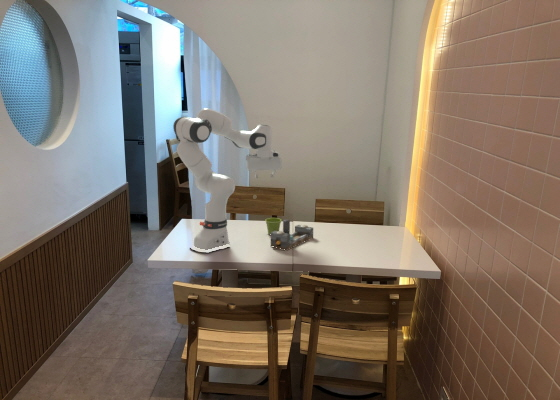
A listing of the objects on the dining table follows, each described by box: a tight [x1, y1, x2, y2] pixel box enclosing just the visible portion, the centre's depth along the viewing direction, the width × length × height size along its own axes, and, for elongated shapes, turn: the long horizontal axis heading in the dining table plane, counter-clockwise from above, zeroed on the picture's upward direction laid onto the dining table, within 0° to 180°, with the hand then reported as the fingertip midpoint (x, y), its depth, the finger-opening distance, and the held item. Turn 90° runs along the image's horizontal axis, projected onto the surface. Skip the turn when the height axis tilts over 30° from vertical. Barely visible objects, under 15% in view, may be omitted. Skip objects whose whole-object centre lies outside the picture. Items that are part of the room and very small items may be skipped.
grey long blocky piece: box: [270, 224, 314, 251], centre depth 253 cm, size 27×10×9 cm, turn 144°
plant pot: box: [265, 217, 283, 235], centre depth 266 cm, size 9×9×9 cm
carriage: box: [282, 219, 293, 241], centre depth 247 cm, size 6×5×12 cm
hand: (264, 177), depth 262 cm, fingers open, 8 cm apart
